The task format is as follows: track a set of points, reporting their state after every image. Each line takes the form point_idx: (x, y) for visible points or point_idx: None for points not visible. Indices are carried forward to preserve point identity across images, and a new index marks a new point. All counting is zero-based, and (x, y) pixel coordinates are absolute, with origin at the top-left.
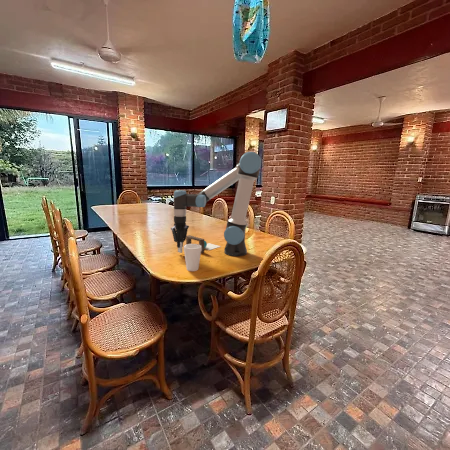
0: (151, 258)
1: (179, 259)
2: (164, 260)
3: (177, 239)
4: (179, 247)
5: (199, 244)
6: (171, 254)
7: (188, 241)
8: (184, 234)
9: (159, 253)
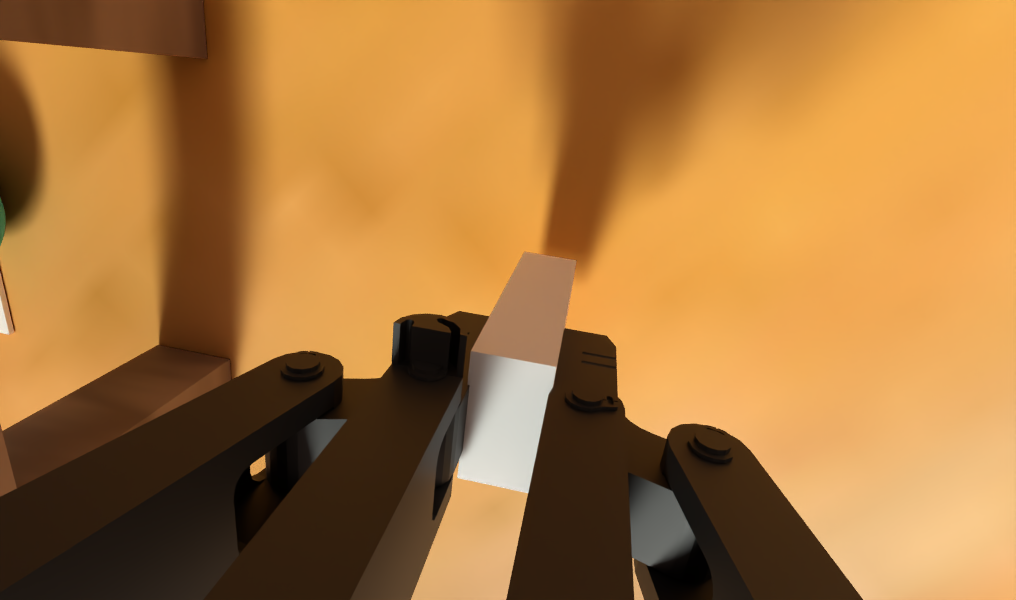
0: (1008, 555)
1: (791, 97)
2: (1009, 310)
3: (721, 511)
4: (577, 331)
5: (12, 15)
6: None
7: (94, 444)
8: (127, 571)
9: None
